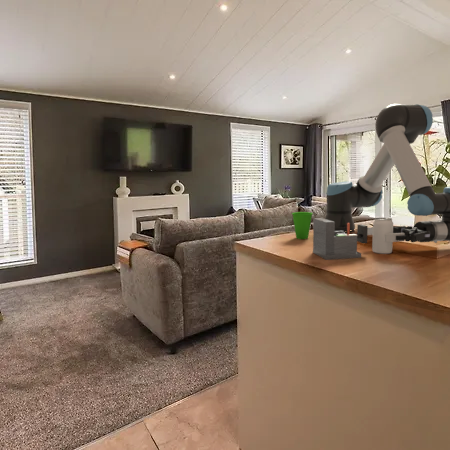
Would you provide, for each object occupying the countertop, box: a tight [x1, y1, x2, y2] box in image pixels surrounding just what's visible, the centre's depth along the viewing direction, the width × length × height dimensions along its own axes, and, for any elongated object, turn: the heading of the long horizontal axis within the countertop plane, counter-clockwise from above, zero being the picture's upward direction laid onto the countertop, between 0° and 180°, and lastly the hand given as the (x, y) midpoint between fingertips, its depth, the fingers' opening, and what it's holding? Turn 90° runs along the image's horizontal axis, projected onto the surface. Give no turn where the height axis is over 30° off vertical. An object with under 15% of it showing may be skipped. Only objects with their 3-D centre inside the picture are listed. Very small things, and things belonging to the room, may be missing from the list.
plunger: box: [336, 223, 369, 244], centre depth 121 cm, size 9×6×8 cm, turn 98°
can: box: [371, 217, 394, 255], centre depth 123 cm, size 6×6×12 cm
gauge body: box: [312, 217, 362, 261], centre depth 121 cm, size 12×11×12 cm
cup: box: [291, 211, 313, 240], centre depth 154 cm, size 9×9×11 cm
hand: (374, 234), depth 123 cm, fingers open, 13 cm apart
